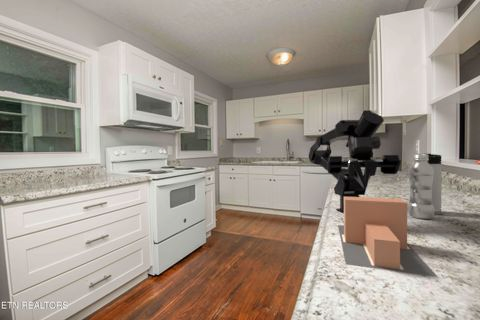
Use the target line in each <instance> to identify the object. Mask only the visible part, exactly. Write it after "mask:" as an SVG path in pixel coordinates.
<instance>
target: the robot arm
mask: <svg viewBox="0 0 480 320" xmlns="http://www.w3.org/2000/svg"><path fill="white" fill-rule="evenodd" d="M383 123H384V117H382V115H379V114H377V113H375V112H372V110H369V109H367V110H363V112H362V113H361V116H360V118H359V119H341V120H339V121H338V122H337V123H336V124H335V125H334V128H333V129H331V130H330V131H327V132H325V133H324V134H322V135H319V136H317V138H316V140H315V142H314V143H313V144H312V146H311V147H310V149H309V153H308V160H309V161H310V163H312V165H313V164H314V165H318V166H321V167H322V168H323V169H324V170H326V172H327V174H329V175H331V176H333V177H334V178H335V179H336V180H337V182H336V184H335V186H334V187H333V191H334V194H335V195H338V196H339V208H336V211H338V212H341V213H343V214H344V197H360V196H365V194H366V191H367V188H368V184H369V181H370V178H371V177H374V176H375V175H376V173H377V168H379V170H380V173H382V174H383V175H395V174H396V175H397V174H398V172H399V169H400V165H401V164H402V163H401V162H402V159H401V157H400V156H399V155H398V154H383V155H381V159H379V158H378V159H372V158H373V157H374V152H373V150H379V149H380V148H381V144H382V143H381V142H382V141H381V138H380V136H374V135H376V134H377V132H378V131H379V129H380V128H381V126H382V125H383ZM344 138H347V142H346V144H345V147H346V148H348V153H349V154H348V155H349V158H348V160H343V156H342V155H333V156H332V155H331V154H332V149H331V144H333V143H334V142H337V141H339V140H341V139H344ZM321 146H326V149H319V148H320V147H321ZM362 169H364V171H362Z"/></svg>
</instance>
